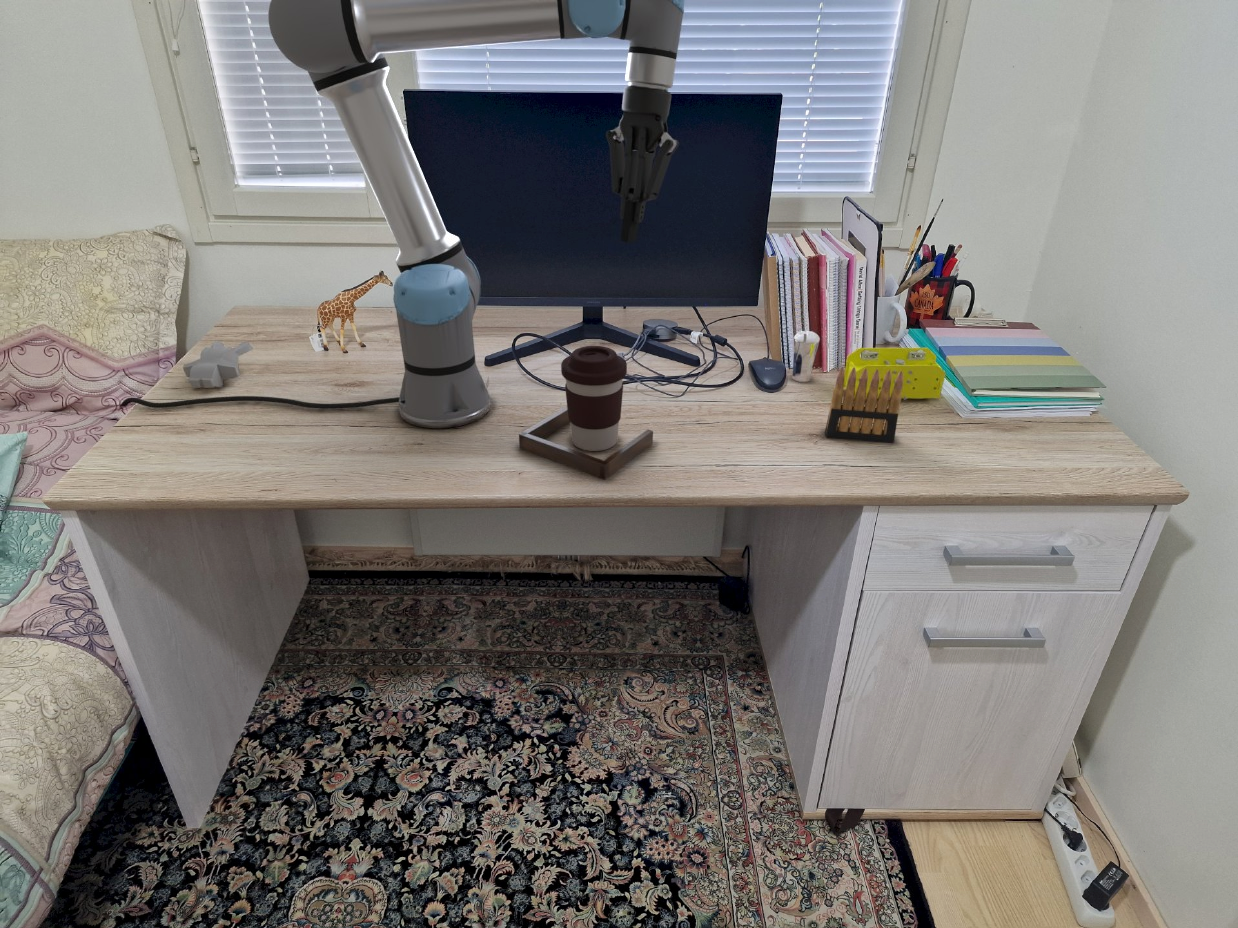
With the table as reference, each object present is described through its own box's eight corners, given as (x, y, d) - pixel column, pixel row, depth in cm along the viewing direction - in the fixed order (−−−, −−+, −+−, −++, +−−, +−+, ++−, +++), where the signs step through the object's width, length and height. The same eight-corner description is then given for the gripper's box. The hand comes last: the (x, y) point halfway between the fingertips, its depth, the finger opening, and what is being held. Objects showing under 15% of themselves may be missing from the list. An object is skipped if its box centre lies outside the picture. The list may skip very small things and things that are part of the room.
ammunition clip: (825, 437, 123) (836, 368, 117) (824, 431, 125) (835, 364, 119) (893, 443, 122) (908, 373, 116) (892, 437, 123) (907, 369, 117)
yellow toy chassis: (927, 389, 139) (937, 346, 135) (939, 403, 135) (949, 359, 130) (840, 389, 139) (847, 347, 135) (849, 403, 134) (857, 359, 130)
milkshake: (785, 382, 141) (792, 332, 136) (791, 372, 146) (798, 322, 141) (810, 387, 140) (818, 335, 135) (815, 376, 144) (823, 325, 139)
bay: (570, 417, 128) (569, 404, 127) (652, 444, 121) (653, 430, 119) (519, 448, 119) (518, 434, 118) (605, 479, 111) (605, 465, 110)
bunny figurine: (169, 372, 133) (204, 332, 145) (179, 397, 137) (212, 356, 148) (224, 372, 134) (254, 332, 146) (232, 397, 137) (261, 356, 149)
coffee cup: (621, 459, 117) (622, 368, 109) (557, 454, 118) (554, 364, 110) (629, 429, 125) (631, 343, 117) (570, 424, 126) (568, 339, 119)
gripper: (695, 94, 119) (672, 247, 129) (627, 86, 125) (610, 233, 135) (671, 89, 113) (648, 250, 123) (601, 80, 119) (584, 234, 129)
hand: (628, 241), depth 129 cm, fingers closed
